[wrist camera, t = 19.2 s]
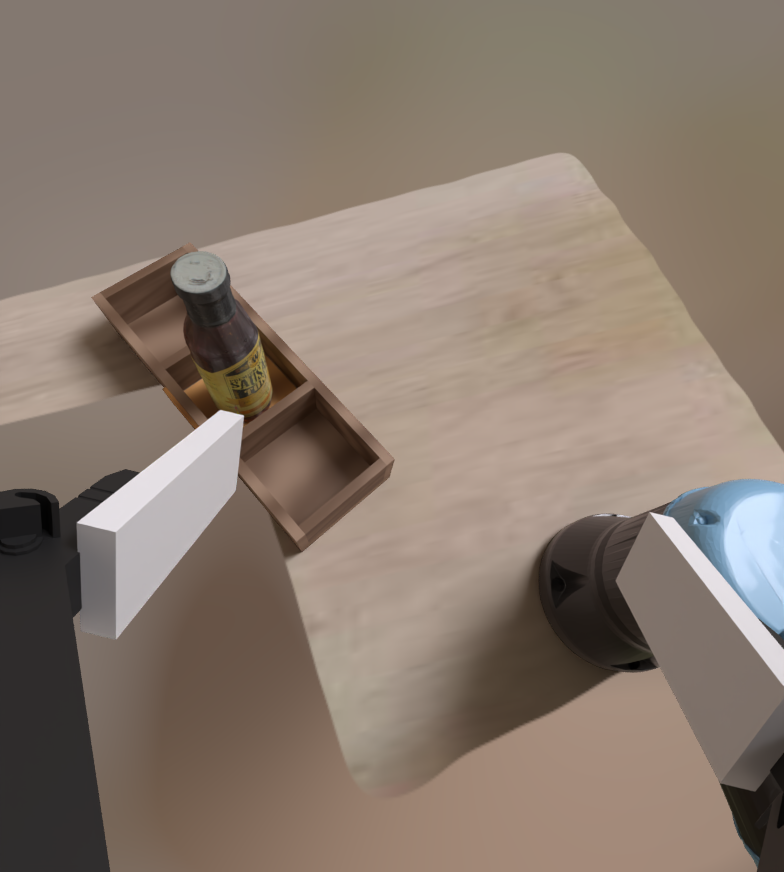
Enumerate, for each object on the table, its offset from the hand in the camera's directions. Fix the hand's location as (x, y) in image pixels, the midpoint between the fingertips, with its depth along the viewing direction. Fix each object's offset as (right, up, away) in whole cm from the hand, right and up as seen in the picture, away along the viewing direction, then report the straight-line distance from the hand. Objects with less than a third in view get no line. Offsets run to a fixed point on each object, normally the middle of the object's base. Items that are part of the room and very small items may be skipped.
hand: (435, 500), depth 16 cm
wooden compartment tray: (-18, +6, +39) cm, 43 cm away
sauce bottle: (-17, +6, +38) cm, 43 cm away
